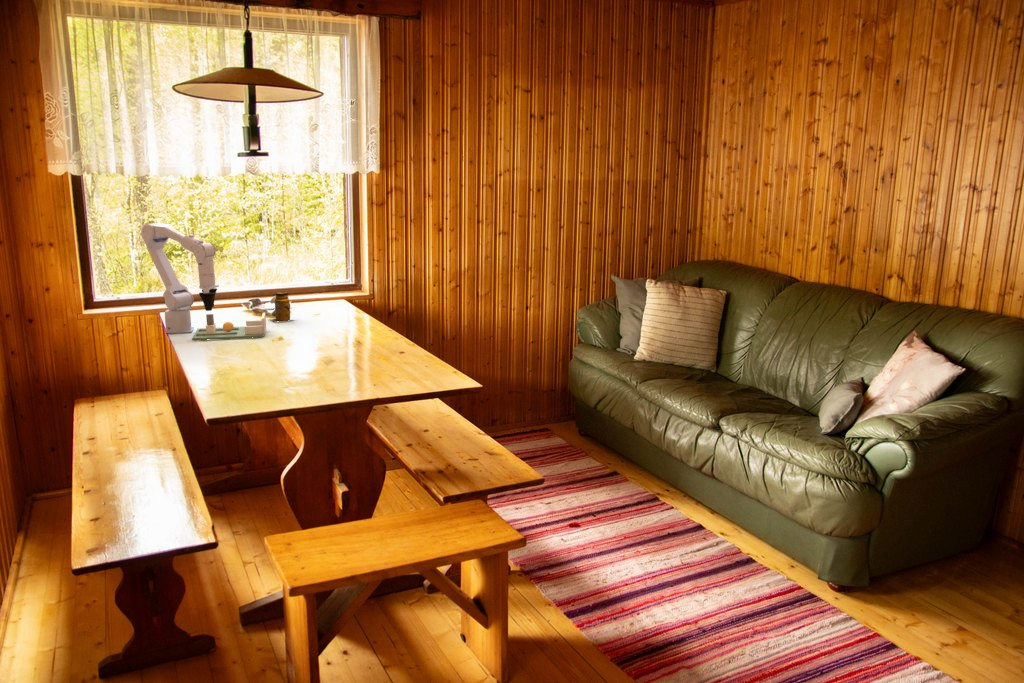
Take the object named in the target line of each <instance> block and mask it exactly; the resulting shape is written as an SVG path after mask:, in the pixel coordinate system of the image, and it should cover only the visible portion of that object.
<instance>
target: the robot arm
mask: <svg viewBox="0 0 1024 683" xmlns="http://www.w3.org/2000/svg"><path fill="white" fill-rule="evenodd" d="M140 235H141V237H142V239H143V241H144V243H145V246H146V250H147V251H148V252H147V253H148V254H149V256H150V258H151V260H152V262H153V265H154V266H155V268H156V270H157V272H158V274H159V277H160V279H161V281H162V282H163V284H164V285H163V286H164V287H165V290H164V291H163V294H162V296H163V298H164V303H165V307H166V308H167V309H166V310H164V324H165V334H181V333H192V332H193V330H194V327H192V320H191V319H192V317H191V309H192V306H193V305H194V301H195V300H194V295H193V293H191V291H189V289H188V287H187V286H185V285H184V284H181V282H180V281H179V279H178V276H177V274H176V273H175V271H174V268H173V267H172V264H171V262H170V260H169V258H168V257H167V254H166V252H165V250H164V247H165V245H167V242H169V241H168V240H169V239H170V240H173V241H176V242H177V243H180V245H181V247H182V248H183V249H185V250H187V251H189V252H190V253H192V254H193V256H194V257H195V260H196V263H197V268H198V282H199V289H201V292H199V293H198V296H199V297H200V299H201V300H202V302H203V307H204V309H205V311H206V312H211V311H212V310H213V308H214V306H215V296H216V294H217V291H218V288H219V287H220V285H219V284H216V277H215V276H216V275H215V265H214V264H215V262H214V256H216V253H217V249H216V248H217V247H216V246H215V245H214V243H212V242H210V241H208V242H205V241H204V240H203V239H199V238H198V237H195V235H194V234H193V233H191V234H184V233H182V232H181V231H179V230H178V229H176V228H174V227H173V225H172V224H170V223H168V222H166V221H162V222H156V223H145V224H143V225H142V227H141V232H140Z"/></svg>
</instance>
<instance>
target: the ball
mask: <svg viewBox="0 0 1024 683" xmlns="http://www.w3.org/2000/svg"><path fill="white" fill-rule="evenodd" d="M234 327H235V326H234V323H233V322H231V321H226V322H224V323H223V325H222V328H223V329H224V331H226V332H231V331H232V330H233V328H234Z"/></svg>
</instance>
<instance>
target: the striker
mask: <svg viewBox="0 0 1024 683" xmlns="http://www.w3.org/2000/svg"><path fill="white" fill-rule="evenodd" d="M205 316H206V324H205V328H206V333H215V331H216V328H217V327H216V322H215V319H214V313H207V314H205Z"/></svg>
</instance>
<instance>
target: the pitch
mask: <svg viewBox="0 0 1024 683" xmlns="http://www.w3.org/2000/svg"><path fill="white" fill-rule="evenodd" d="M264 336H265V334H245V326H234V328H233V330H232V331H231V332H226V331H224V329H223V327H216V331H215V333H206V327H203V328H199V327H198V328H197V329H196V330H195V332H194V334H193V336H192V337H191V340H201V341H208V340H207V339H224V340H232V339H231V338H246V339H256V338H255V337H264ZM252 337H254V338H252ZM264 338H265V337H264Z"/></svg>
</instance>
